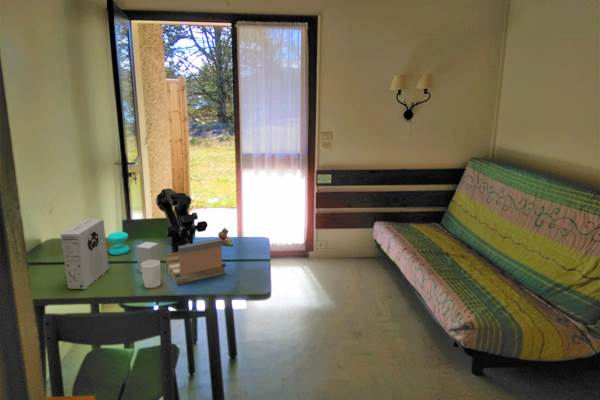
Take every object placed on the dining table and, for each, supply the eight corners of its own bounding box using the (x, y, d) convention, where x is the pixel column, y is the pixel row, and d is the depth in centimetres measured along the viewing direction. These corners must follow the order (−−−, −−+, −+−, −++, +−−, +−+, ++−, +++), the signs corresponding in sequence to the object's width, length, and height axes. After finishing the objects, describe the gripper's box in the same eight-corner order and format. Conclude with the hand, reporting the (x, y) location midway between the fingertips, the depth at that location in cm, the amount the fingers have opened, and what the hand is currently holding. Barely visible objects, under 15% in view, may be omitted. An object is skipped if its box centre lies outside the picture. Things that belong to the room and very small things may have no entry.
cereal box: (93, 269, 202) (87, 218, 196) (109, 269, 202) (103, 218, 196) (68, 290, 181) (60, 233, 175) (85, 290, 181) (78, 234, 175)
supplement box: (161, 268, 204) (159, 242, 201) (151, 274, 197) (149, 248, 194) (148, 266, 206) (146, 241, 203) (138, 271, 200) (135, 246, 196)
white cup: (145, 281, 190) (143, 260, 188) (163, 280, 191) (162, 259, 188) (140, 289, 182) (138, 267, 180) (159, 288, 183) (157, 266, 181)
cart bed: (166, 271, 200) (164, 254, 198) (212, 261, 212) (211, 245, 209) (177, 286, 185) (175, 267, 183) (226, 274, 197) (225, 257, 195)
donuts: (105, 233, 222) (125, 229, 228) (107, 251, 225) (127, 247, 230) (109, 238, 214) (130, 235, 220) (111, 257, 217) (131, 253, 222)
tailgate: (180, 274, 186) (178, 246, 183) (221, 265, 196) (220, 238, 193) (182, 276, 184) (180, 248, 181) (223, 267, 194) (222, 240, 191)
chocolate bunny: (226, 241, 240) (225, 224, 237) (234, 245, 234) (233, 227, 232) (217, 243, 236) (217, 226, 234) (225, 247, 231) (224, 230, 228)
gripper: (165, 210, 194) (174, 240, 188) (205, 204, 204) (214, 233, 197) (162, 222, 202) (170, 251, 196) (200, 216, 212) (209, 244, 206)
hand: (191, 244), depth 199 cm, fingers closed
